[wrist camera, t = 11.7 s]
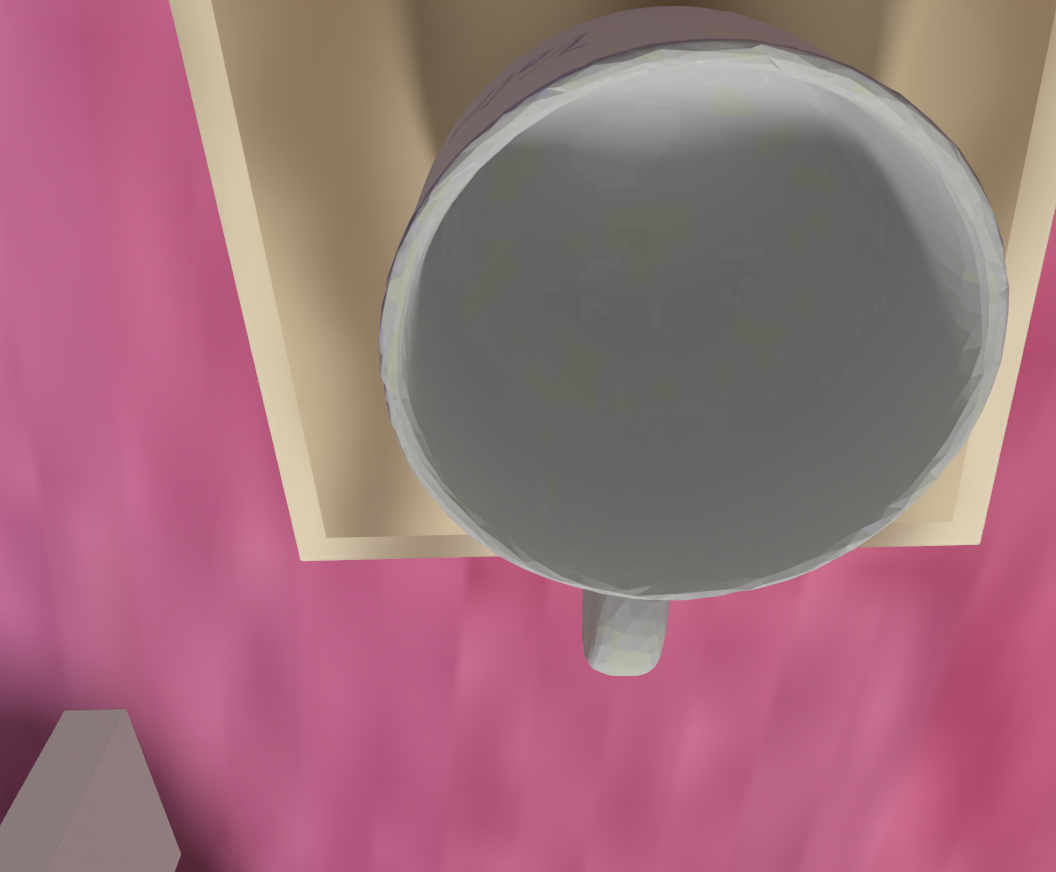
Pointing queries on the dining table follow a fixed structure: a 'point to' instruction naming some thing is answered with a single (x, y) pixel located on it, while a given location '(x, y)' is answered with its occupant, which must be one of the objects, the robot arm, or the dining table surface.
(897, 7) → the beige tray
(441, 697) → the dining table surface
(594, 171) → the teacup
